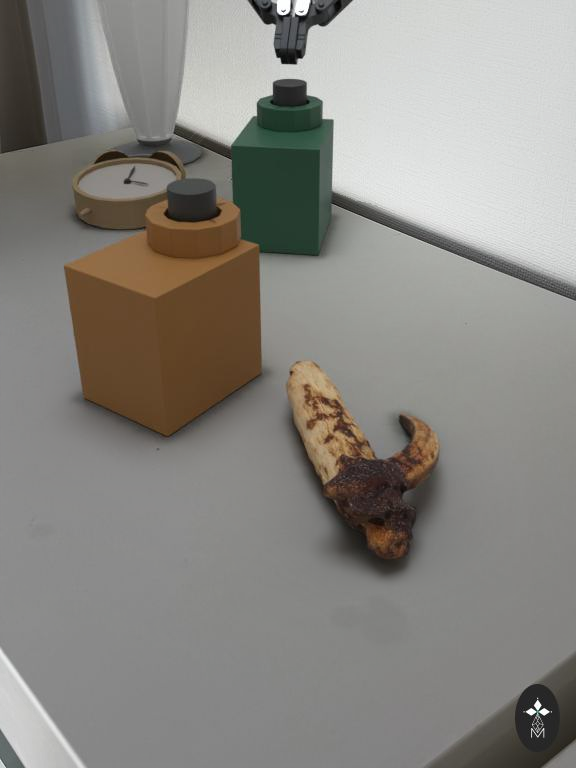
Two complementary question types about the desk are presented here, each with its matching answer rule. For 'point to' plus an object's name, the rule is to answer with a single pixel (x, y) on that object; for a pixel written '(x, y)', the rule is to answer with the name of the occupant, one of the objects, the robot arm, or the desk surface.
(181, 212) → the dark grey cylinder
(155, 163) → the alarm clock
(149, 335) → the amber bottle
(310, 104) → the green bottle
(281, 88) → the short charcoal cylinder
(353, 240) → the desk surface
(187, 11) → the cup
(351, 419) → the lashed bone hook
